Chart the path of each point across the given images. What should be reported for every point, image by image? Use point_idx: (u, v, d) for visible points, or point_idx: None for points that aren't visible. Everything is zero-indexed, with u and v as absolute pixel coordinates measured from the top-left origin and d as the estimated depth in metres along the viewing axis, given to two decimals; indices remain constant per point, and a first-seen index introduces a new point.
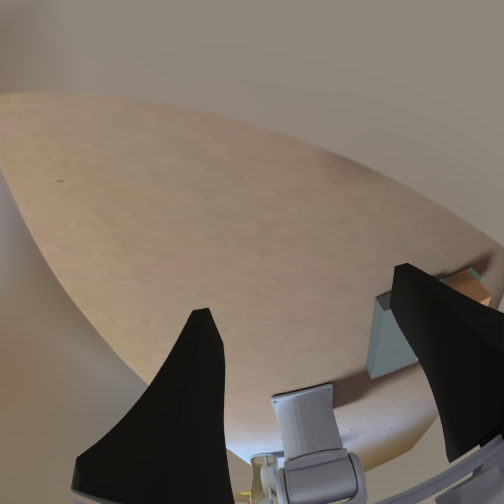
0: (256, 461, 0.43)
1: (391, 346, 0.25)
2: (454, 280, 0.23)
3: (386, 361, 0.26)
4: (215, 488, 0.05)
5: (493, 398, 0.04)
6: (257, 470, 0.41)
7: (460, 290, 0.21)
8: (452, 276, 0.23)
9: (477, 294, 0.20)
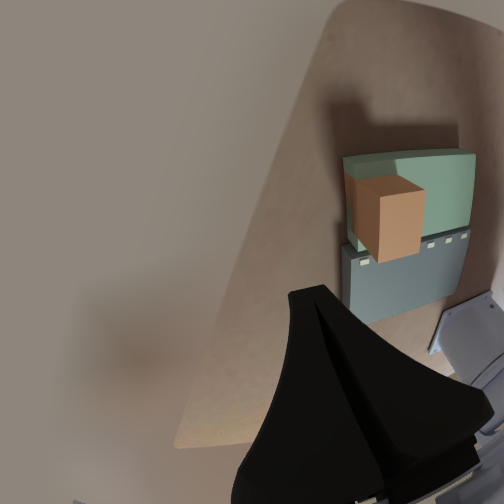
0: None
1: (414, 294, 0.20)
2: (351, 215, 0.17)
3: (436, 288, 0.20)
4: None
5: None
6: None
7: (361, 229, 0.16)
8: (347, 208, 0.18)
9: (371, 217, 0.14)
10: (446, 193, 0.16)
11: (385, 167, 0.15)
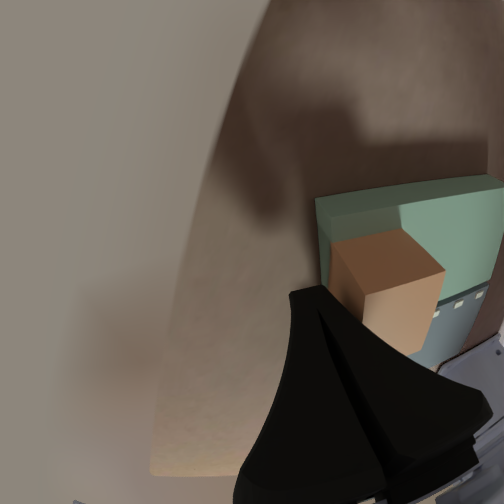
0: None
1: None
2: (326, 284, 0.12)
3: (435, 355, 0.15)
4: None
5: None
6: None
7: None
8: (322, 273, 0.12)
9: (350, 311, 0.09)
10: (469, 245, 0.10)
11: (382, 219, 0.09)
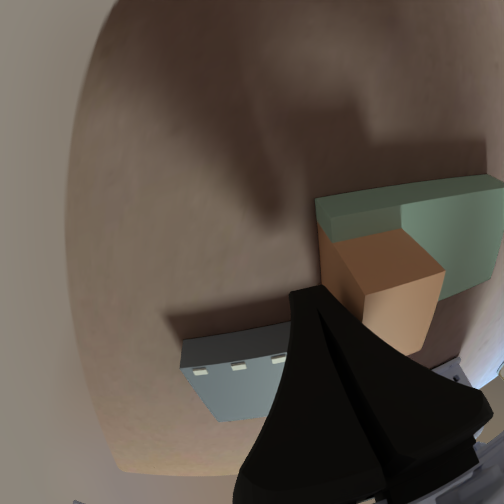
0: (501, 377, 0.25)
1: None
2: (326, 284, 0.12)
3: None
4: None
5: None
6: None
7: None
8: (322, 273, 0.12)
9: (350, 311, 0.09)
10: (469, 245, 0.10)
11: (382, 219, 0.09)
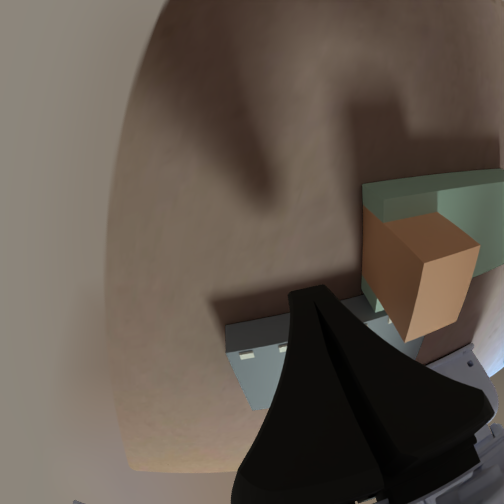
0: None
1: None
2: (369, 264, 0.12)
3: None
4: None
5: None
6: None
7: (384, 289, 0.11)
8: (364, 254, 0.13)
9: (403, 282, 0.09)
10: (488, 230, 0.11)
11: (423, 203, 0.10)
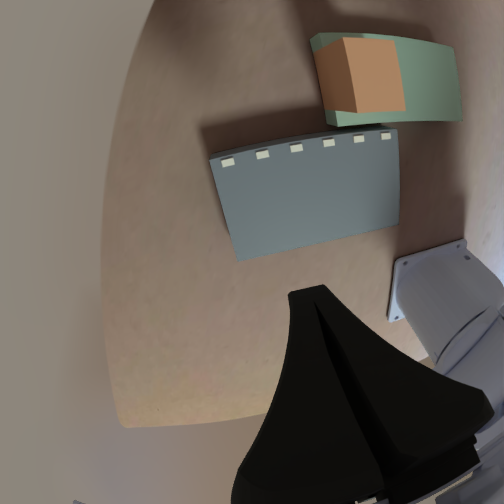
0: None
1: (324, 217, 0.17)
2: (325, 91, 0.14)
3: (362, 212, 0.17)
4: None
5: None
6: None
7: (336, 95, 0.13)
8: (322, 88, 0.15)
9: (341, 68, 0.11)
10: (428, 77, 0.12)
11: None
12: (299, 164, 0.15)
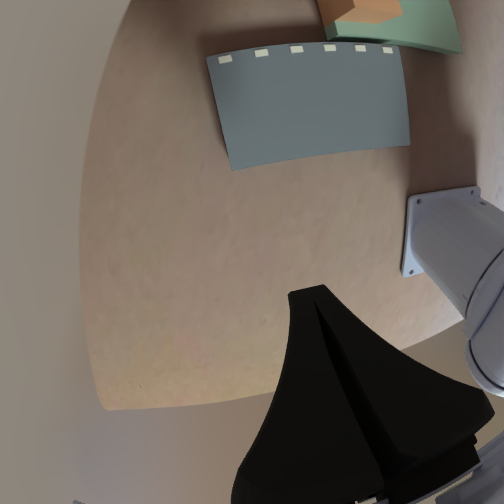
0: None
1: (330, 123, 0.14)
2: (324, 9, 0.11)
3: (370, 124, 0.14)
4: None
5: None
6: None
7: (334, 5, 0.10)
8: (320, 9, 0.12)
9: None
10: (424, 8, 0.10)
11: None
12: (300, 65, 0.12)
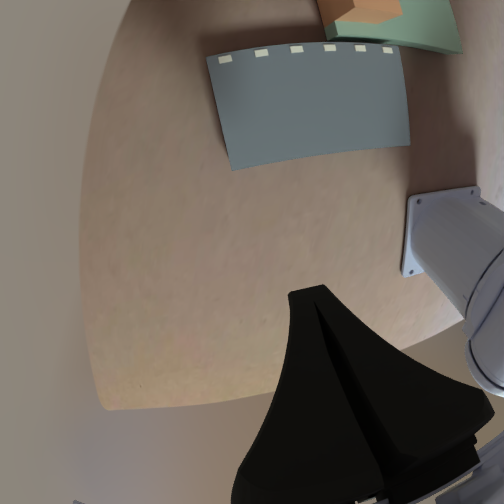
0: None
1: (330, 123, 0.14)
2: (324, 9, 0.11)
3: (370, 124, 0.14)
4: None
5: None
6: None
7: (334, 5, 0.10)
8: (320, 9, 0.12)
9: None
10: (424, 8, 0.10)
11: None
12: (300, 65, 0.12)
